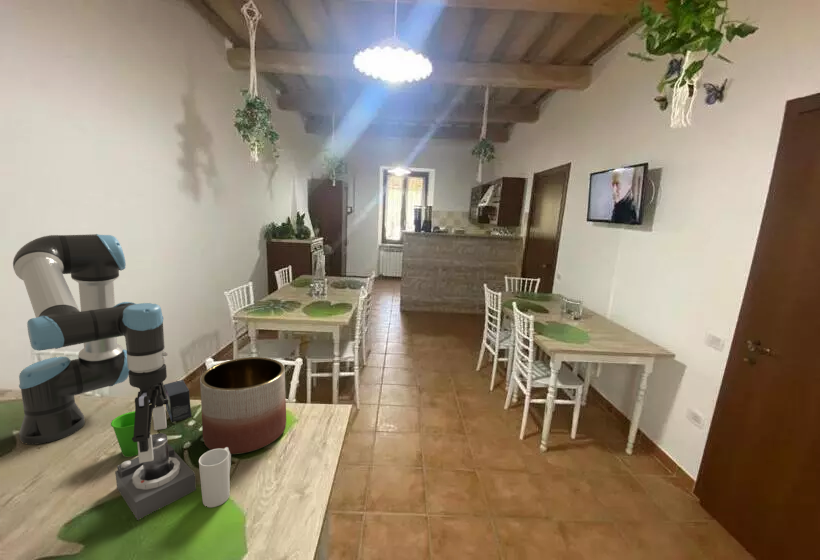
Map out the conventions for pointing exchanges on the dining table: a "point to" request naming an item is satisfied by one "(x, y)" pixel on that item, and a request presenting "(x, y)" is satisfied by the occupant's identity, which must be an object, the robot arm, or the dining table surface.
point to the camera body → (153, 485)
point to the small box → (177, 401)
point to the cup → (125, 433)
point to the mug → (215, 476)
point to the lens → (158, 458)
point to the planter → (243, 404)
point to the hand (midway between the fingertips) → (154, 443)
